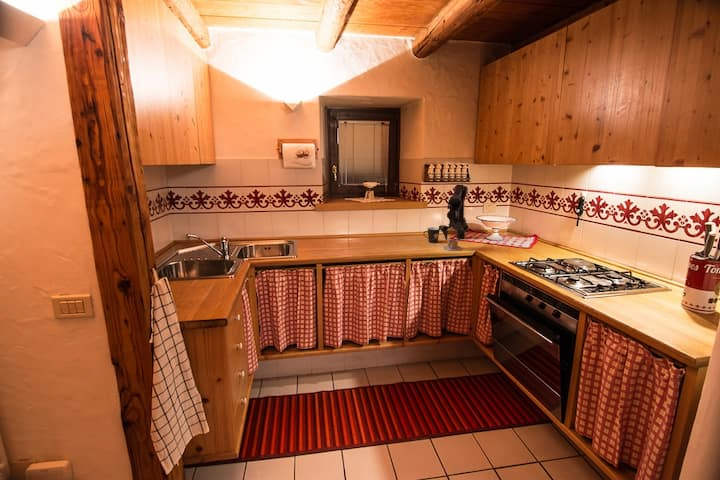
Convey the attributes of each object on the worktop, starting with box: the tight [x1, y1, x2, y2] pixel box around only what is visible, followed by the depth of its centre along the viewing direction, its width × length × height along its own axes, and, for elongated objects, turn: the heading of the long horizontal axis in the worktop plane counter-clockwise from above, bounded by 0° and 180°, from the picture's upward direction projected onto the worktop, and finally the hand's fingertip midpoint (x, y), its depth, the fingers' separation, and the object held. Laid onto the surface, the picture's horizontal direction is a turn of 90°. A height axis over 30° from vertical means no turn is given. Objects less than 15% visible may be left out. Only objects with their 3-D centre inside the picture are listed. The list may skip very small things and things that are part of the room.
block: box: [447, 238, 459, 249], centre depth 237 cm, size 6×4×5 cm, turn 12°
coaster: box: [443, 245, 463, 252], centre depth 238 cm, size 12×12×1 cm
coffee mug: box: [423, 226, 441, 244], centre depth 255 cm, size 12×9×10 cm
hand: (452, 240), depth 237 cm, fingers open, 9 cm apart
